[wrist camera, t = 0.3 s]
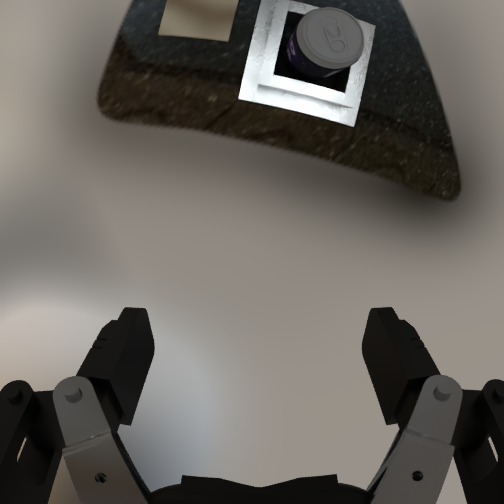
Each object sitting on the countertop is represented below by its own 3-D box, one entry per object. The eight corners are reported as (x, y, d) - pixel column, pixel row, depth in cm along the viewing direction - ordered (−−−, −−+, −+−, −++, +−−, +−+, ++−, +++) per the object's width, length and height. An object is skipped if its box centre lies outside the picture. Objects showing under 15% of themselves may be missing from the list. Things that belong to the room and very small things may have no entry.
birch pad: (175, -22, 26) (174, -24, 25) (243, -16, 26) (243, -18, 26) (159, 35, 29) (158, 34, 28) (228, 42, 29) (228, 40, 29)
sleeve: (262, -3, 27) (263, -19, 22) (372, 27, 28) (388, 17, 24) (238, 99, 32) (236, 96, 28) (351, 126, 33) (365, 128, 29)
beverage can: (323, 31, 29) (354, -2, 18) (340, 75, 31) (379, 61, 20) (276, 42, 30) (286, 10, 19) (292, 87, 32) (312, 75, 21)
